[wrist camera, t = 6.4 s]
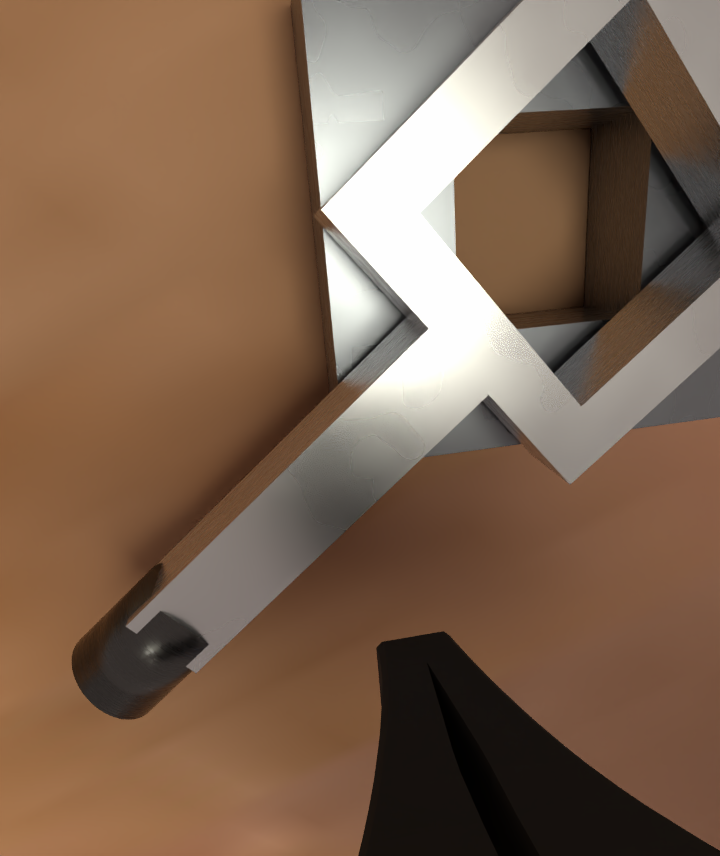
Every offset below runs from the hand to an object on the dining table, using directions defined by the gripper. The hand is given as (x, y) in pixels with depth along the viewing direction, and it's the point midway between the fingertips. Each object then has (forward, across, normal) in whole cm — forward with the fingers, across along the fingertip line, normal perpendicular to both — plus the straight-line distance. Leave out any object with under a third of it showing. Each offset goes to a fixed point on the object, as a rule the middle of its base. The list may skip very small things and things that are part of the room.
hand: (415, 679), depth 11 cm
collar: (+3, -1, -5) cm, 6 cm away
